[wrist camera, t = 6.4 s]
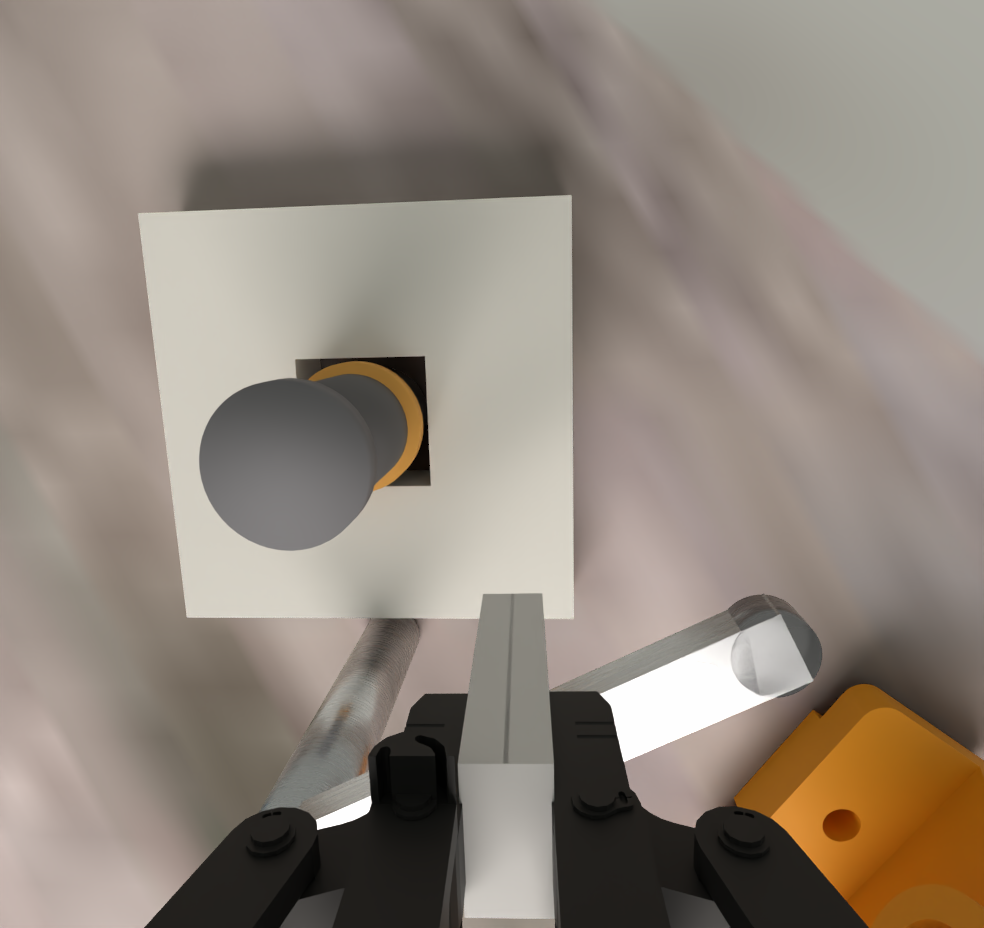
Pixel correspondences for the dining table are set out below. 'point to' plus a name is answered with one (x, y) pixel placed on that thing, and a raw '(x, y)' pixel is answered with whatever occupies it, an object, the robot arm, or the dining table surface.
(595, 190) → the dining table surface
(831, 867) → the bracket
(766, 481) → the dining table surface
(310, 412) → the plug
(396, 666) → the handle
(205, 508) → the socket block
